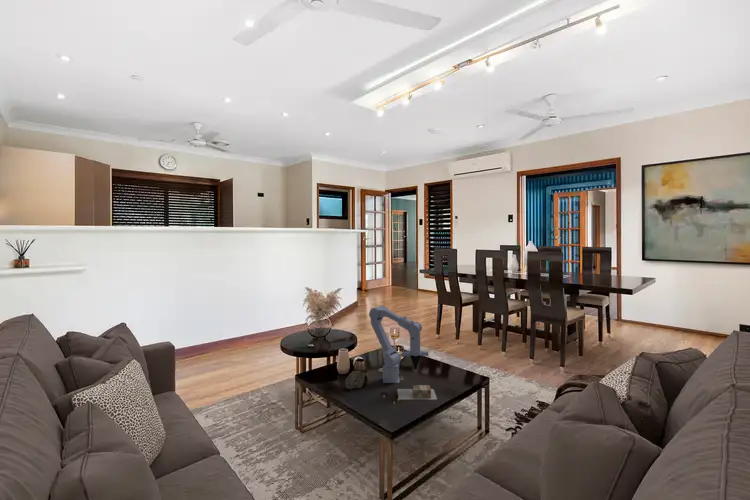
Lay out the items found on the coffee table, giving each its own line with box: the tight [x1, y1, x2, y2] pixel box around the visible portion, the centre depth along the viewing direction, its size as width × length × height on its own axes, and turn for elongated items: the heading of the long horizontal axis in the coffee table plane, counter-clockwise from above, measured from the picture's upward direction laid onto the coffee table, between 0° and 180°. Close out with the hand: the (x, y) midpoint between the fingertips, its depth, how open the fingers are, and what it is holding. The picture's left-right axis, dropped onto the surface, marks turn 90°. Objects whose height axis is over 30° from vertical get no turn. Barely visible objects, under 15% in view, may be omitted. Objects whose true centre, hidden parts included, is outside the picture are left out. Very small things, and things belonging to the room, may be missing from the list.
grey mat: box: [396, 388, 438, 401], centre depth 192 cm, size 20×12×1 cm, turn 90°
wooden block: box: [412, 384, 432, 398], centre depth 191 cm, size 4×6×9 cm
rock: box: [344, 370, 367, 390], centre depth 202 cm, size 12×7×10 cm, turn 122°
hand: (415, 368), depth 201 cm, fingers closed
